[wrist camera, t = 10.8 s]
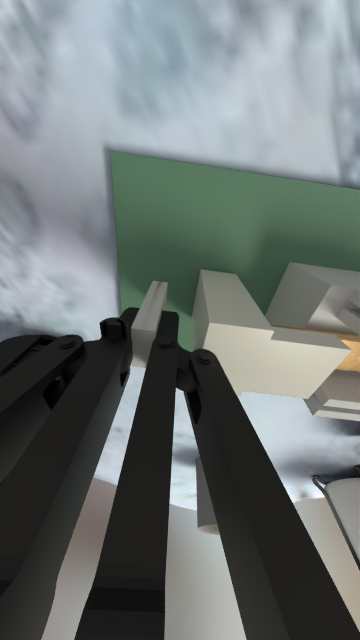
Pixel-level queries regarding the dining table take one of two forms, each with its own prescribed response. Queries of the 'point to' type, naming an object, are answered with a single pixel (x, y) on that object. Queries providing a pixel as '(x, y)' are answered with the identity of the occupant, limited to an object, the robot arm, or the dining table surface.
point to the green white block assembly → (244, 250)
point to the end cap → (21, 350)
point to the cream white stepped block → (258, 342)
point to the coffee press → (345, 509)
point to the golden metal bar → (356, 358)
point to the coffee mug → (204, 503)
